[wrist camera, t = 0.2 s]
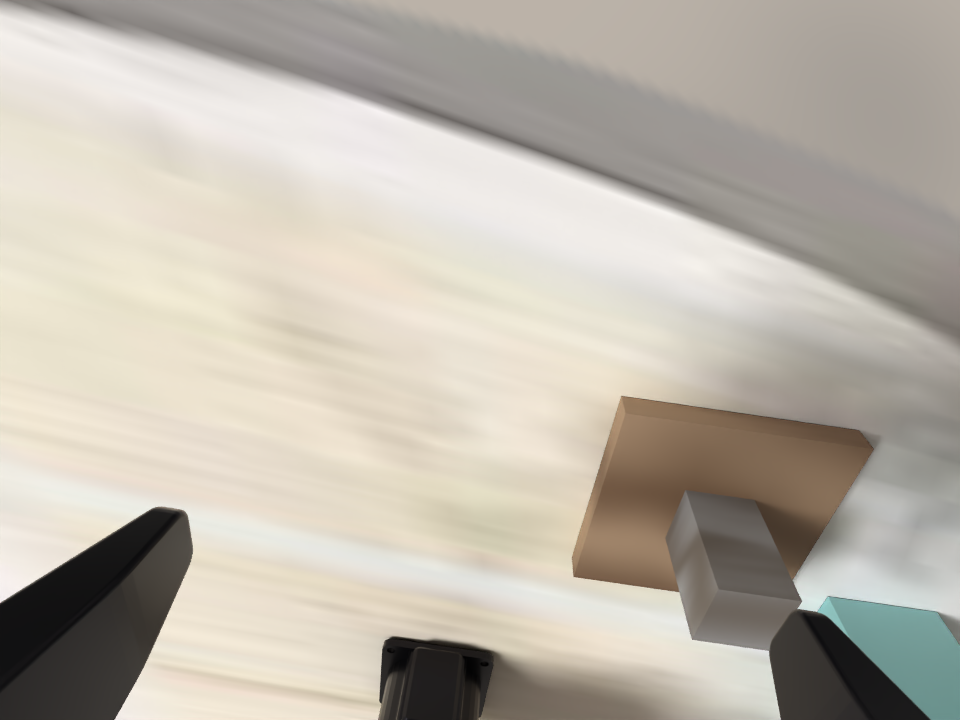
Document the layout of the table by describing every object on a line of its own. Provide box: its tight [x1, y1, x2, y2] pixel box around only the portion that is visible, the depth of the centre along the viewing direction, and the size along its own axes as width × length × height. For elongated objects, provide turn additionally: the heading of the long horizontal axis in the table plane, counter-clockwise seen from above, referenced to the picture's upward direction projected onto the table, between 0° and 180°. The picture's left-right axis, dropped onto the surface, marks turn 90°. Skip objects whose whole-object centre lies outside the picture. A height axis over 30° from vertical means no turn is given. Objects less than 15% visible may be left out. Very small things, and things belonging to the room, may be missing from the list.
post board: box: [572, 396, 874, 651], centre depth 24 cm, size 10×10×6 cm
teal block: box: [818, 597, 960, 720], centre depth 28 cm, size 6×6×6 cm
